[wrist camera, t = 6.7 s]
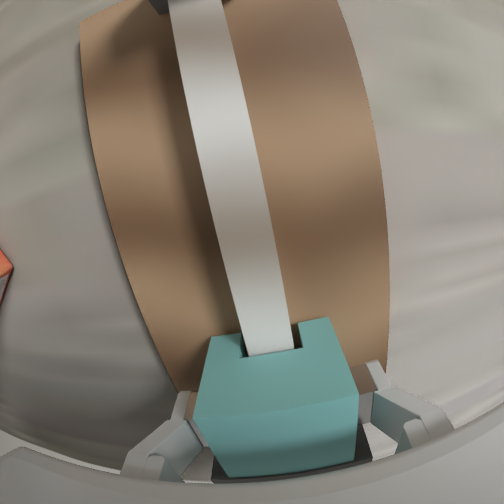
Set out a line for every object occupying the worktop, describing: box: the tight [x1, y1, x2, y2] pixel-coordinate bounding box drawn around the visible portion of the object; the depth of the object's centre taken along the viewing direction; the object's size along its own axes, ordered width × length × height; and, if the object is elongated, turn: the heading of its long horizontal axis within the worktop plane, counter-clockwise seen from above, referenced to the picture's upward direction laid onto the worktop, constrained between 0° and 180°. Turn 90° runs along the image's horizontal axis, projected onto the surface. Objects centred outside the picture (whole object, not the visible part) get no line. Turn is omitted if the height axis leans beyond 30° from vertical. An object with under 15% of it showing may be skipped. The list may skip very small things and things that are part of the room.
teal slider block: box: [192, 316, 359, 478], centre depth 9 cm, size 4×5×4 cm
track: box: [79, 0, 390, 484], centre depth 8 cm, size 20×10×6 cm, turn 12°
